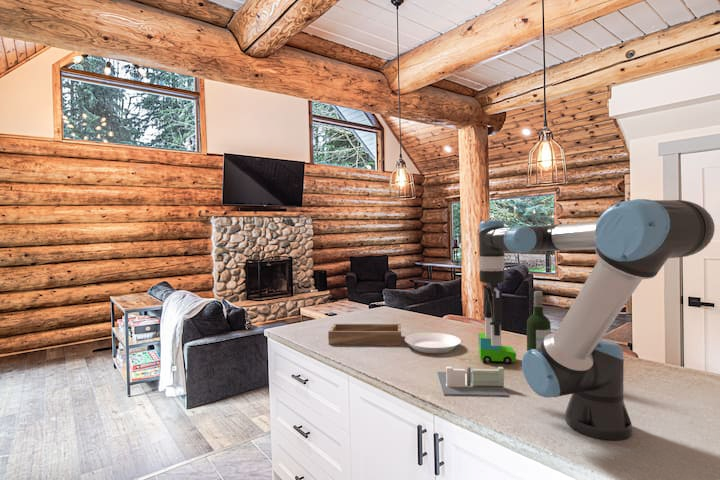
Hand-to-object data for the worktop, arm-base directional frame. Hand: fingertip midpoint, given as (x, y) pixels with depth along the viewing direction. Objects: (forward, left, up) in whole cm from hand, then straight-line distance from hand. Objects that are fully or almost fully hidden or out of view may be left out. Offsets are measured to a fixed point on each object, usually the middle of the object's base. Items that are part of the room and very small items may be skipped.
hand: (492, 341), depth 126 cm
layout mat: (+10, +6, -17) cm, 20 cm away
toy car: (+35, -9, -18) cm, 40 cm away
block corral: (+64, +46, -17) cm, 80 cm away
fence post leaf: (+6, +10, -17) cm, 21 cm away
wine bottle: (+20, -20, -17) cm, 33 cm away
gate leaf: (+6, 0, -16) cm, 18 cm away
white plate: (+53, +15, -18) cm, 57 cm away
